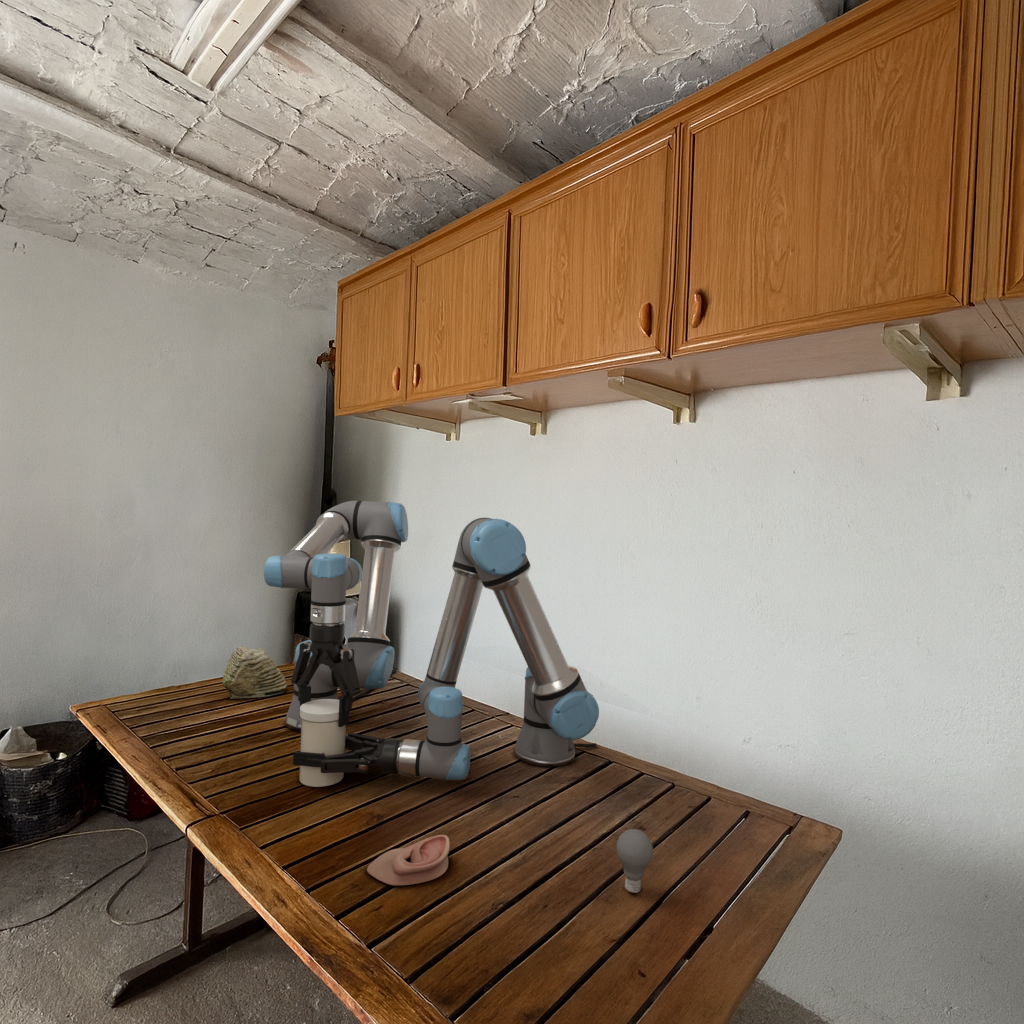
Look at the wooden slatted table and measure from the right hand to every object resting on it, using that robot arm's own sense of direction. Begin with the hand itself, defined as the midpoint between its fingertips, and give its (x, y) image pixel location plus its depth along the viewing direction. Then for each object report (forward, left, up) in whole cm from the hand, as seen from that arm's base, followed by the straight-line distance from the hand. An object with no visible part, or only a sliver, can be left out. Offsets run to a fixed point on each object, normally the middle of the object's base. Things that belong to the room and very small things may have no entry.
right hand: (304, 748), depth 143 cm
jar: (-4, +2, -6) cm, 7 cm away
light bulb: (-51, +58, -6) cm, 78 cm away
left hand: (-4, +2, +7) cm, 8 cm away
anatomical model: (-17, +42, -6) cm, 45 cm away
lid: (-4, +2, +10) cm, 11 cm away
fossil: (+13, -63, -6) cm, 64 cm away
